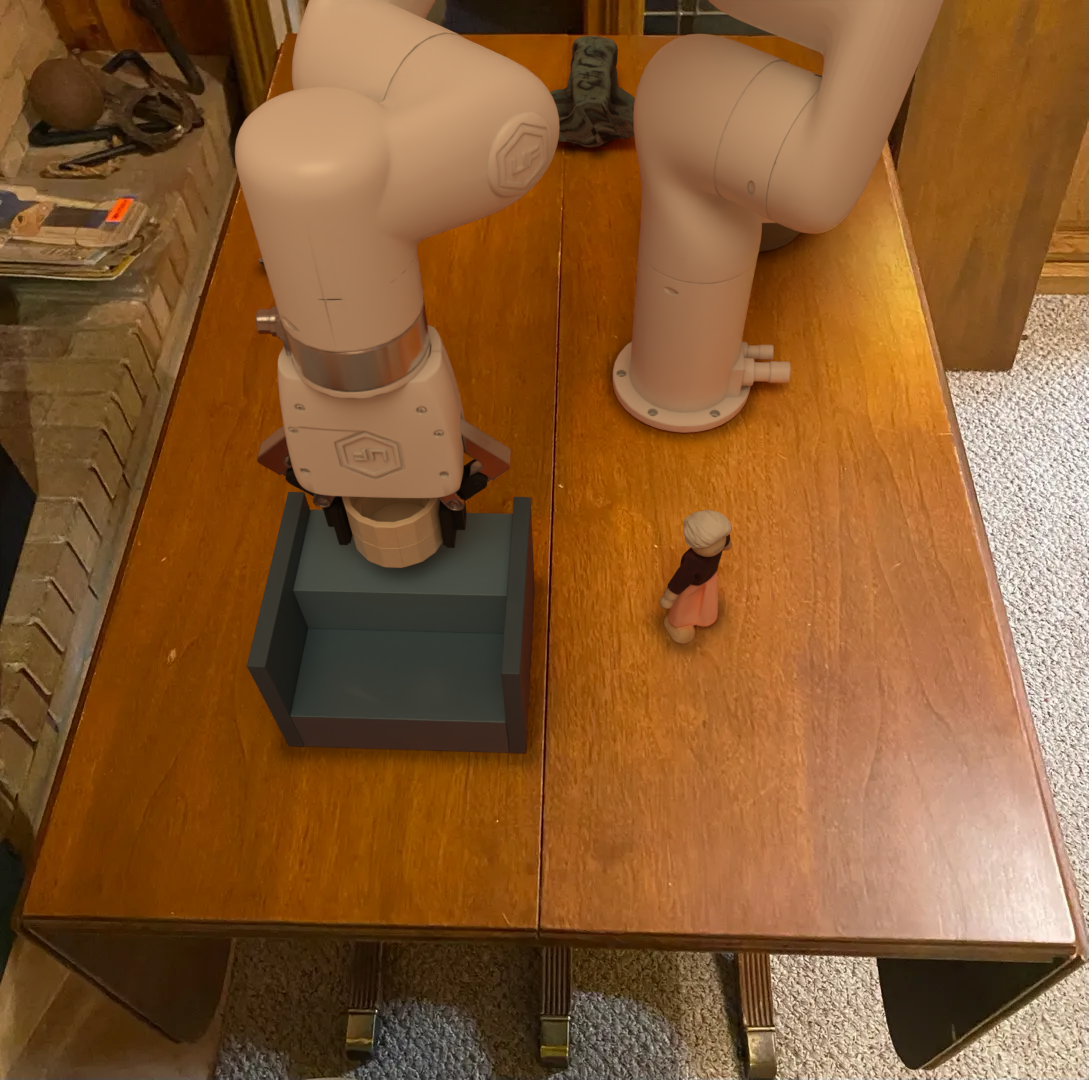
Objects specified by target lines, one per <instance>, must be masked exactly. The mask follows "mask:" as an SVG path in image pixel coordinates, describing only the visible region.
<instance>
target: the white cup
mask: <svg viewBox="0 0 1089 1080" xmlns="http://www.w3.org/2000/svg"><path fill="white" fill-rule="evenodd" d="M341 497H342V500H343V504H344V507H345V511H346V514H347V518H348V522H349V525H350V529H351V532H352V536H353V539H354V542H355V545H356V548H357V550H358V551H359V552H360V553H361V554H362V555H363V556H364V557H365V558H366V559H367V560H368V561H370V562H372V563H375V564H377V565H380V566H383V567H391V568H403V567H407V566H410V565H414V564H417V563H420V562H423V561H424V560H426V559H427V558H428V557H430V556H431V555H433V554H434V553H435V552H436V551H437V550H438V548H439V546H440V545H441V543H442V542H443V539H442V533H441V526H440V520H439V505H440V499H439V498H380V497H347V496H341Z"/></svg>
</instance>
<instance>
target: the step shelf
mask: <svg viewBox="0 0 1089 1080" xmlns="http://www.w3.org/2000/svg"><path fill="white" fill-rule="evenodd" d="M466 513H467V517H466V528H465V530H457V531H456V540H455V548H447V547H446V546H444V545H443V542H442V543H441V545H440V546H439V548H438V550H437V551H436V552H435V553H434V554H433V555H431V556H430V557H428V558H427V559H426V560H424V561H423V562H420V563H417V564H414V565H410V566H407V567H403V568H391V567H383V566H380V565H377V564H375V563H372V562H370V561H368V560H367V559H366V558H365V557H364V556H363V555H362V554H361V553H360V552H359V551H358V550H357V548H356V545H355V542H354V539H353V536H352V539H351V543H348V545H339V542H338V539H337V535H336V532H335V529H334V527H329V526H328V524H327V521H326V517H325V514H324V511H323V509H317V508H316V509H314V508H313V509H311V508H310V504H309V502H308V499H307V496H306V492H304V491H288V492H287V496H286V499H285V504H284V507H283V512H282V516H281V520H280V525H279V529H278V532H277V537H276V542H275V546H274V551H273V554H272V558H271V562H270V566H269V571H268V575H267V579H266V584H265V588H264V592H263V596H262V600H261V604H260V609H259V612H258V617H257V620H256V624H255V630H254V633H253V638H252V642H251V647H250V650H249V654H248V659H247V663H246V668H247V670H248V672H249V674H250V675H251V678H252V679H253V681H254V683H255V685H256V687H257V688H258V691H259V693H260V695H261V696H262V698H263V700H264V702H265V704H266V706H267V708H268V710H269V711H270V713H271V715H272V717H273V719H274V721H275V723H276V725H277V727H278V729H279V730H280V731H279V732H280V733H281V734H282V736H283V738H284V740H285V742H286V744H287V746H288V747H301V748H303V747H307V748H336V749H338V748H341V749H369V750H370V749H371V750H372V749H373V750H400V751H401V750H402V751H434V752H435V751H436V752H437V751H439V752H464V753H465V752H469V753H470V752H472V753H498V754H509V753H510V754H526V753H527V742H528V725H529V707H530V706H529V705H530V691H531V690H530V688H531V669H532V654H533V653H532V652H533V651H532V650H533V635H534V634H533V632H534V615H535V614H534V613H535V599H536V597H535V595H536V584H535V560H534V541H533V538H534V537H533V518H532V497H531V496H513V503H512V513H501V512H500V513H498V512H497V513H495V512H466Z"/></svg>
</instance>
